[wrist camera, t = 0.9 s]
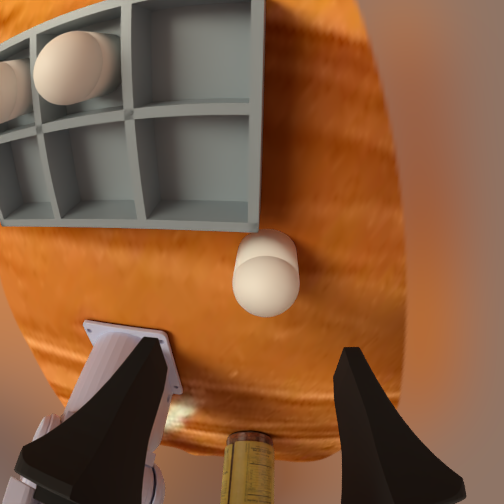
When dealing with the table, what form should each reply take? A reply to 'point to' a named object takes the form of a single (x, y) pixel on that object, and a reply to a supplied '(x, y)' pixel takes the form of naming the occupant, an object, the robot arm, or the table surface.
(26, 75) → the egg
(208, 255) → the table surface
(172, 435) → the table surface
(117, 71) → the egg
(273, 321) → the table surface
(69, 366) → the table surface
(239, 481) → the sauce bottle
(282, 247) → the egg
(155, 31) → the carton
